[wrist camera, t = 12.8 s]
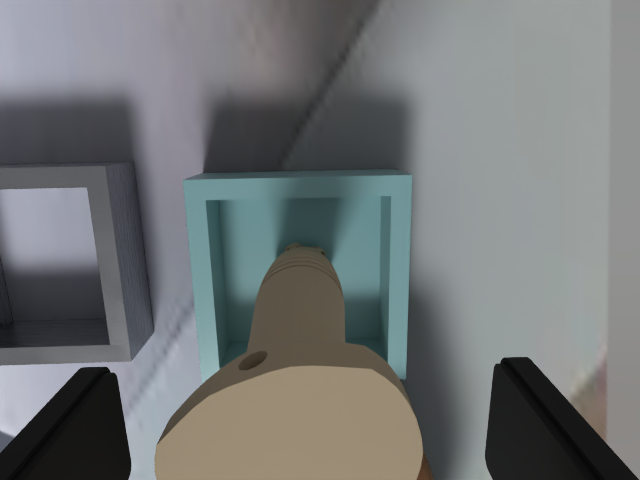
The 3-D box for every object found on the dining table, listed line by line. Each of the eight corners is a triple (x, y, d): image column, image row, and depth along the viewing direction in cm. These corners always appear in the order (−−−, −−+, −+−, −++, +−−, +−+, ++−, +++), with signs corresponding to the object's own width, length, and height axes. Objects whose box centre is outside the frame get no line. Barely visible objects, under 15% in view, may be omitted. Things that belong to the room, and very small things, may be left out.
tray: (202, 173, 24) (182, 180, 20) (395, 168, 25) (412, 174, 21) (217, 349, 27) (201, 385, 23) (391, 344, 27) (406, 379, 23)
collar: (-37, 165, 24) (-95, 170, 21) (133, 161, 24) (104, 165, 21) (-1, 337, 26) (-47, 366, 23) (153, 332, 27) (131, 361, 23)
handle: (369, 283, 25) (447, 497, 11) (267, 321, 26) (209, 574, 11) (340, 208, 24) (382, 331, 9) (234, 248, 24) (120, 425, 10)
